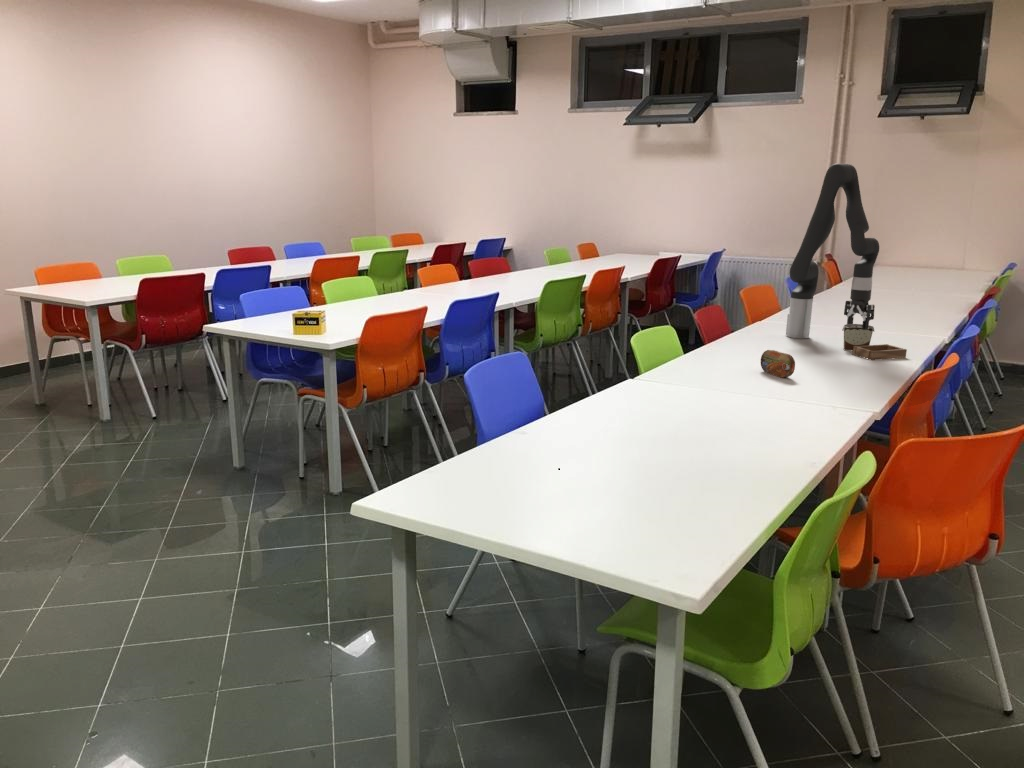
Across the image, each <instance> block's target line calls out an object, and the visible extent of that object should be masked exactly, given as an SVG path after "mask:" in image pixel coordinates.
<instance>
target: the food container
mask: <svg viewBox="0 0 1024 768" xmlns="http://www.w3.org/2000/svg"><path fill="white" fill-rule="evenodd" d="M862 325H863V323H853V324H847V323H846V324H844V325H843V326H842V329H841V330H842V331H843V350H844V349H845V350H844V351H851V350H853V346H868V345H871V340H872V337H873V332H875V327H874V326H873V325H869V327H868V329H867V330H862Z"/></svg>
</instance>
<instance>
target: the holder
mask: <svg viewBox="0 0 1024 768" xmlns="http://www.w3.org/2000/svg"><path fill="white" fill-rule="evenodd" d="M907 352H908V349H906V348H904V347H903V348H902V347H898V346H896V345H891V344H889V343H888V344H887V343H885V344H883V343H882V344H873V345H872V344H870V345H868V346H853V351H852V354H855V355H858V356H857V357H859V356H861V357H860V358H862V357H865V358H864V359H866V358H868V359H867V360H869V359H871V360H870V361H876V360H875V359H882V360H890V359H891V360H892V358H895V359H906V357H907ZM855 355H854V356H855Z"/></svg>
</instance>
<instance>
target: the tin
mask: <svg viewBox="0 0 1024 768" xmlns="http://www.w3.org/2000/svg"><path fill="white" fill-rule="evenodd" d="M760 357H761V358H760V367H761V369H762V371H763V372H764V373H766V374H768V375H772V376H776V377H778V378H788V377H791V376H792V375H793V374H794V372H795V368H796V361H795V359H794V357H793V355H791V354H790V353H785V352H782V351H778V350H774V349H767V350H765V351H763V352H762V354H761V356H760Z"/></svg>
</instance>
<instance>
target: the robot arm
mask: <svg viewBox="0 0 1024 768" xmlns="http://www.w3.org/2000/svg"><path fill="white" fill-rule="evenodd" d="M841 188H842V189H843V192H844V193H845V197H846V209H845V219H846V223H847V225H848V228H849V231H850V248H851V251H852V253H853V254H854V255H856V256H857V257H861V259H860V260H859V261H857V262H856V263H855V264H854V266H853V274H852V276H853V277H852V280H851V287H850V298H849V299H850V300H846V301H845V305H844V311H843V315H844V316H846V318H847V320H846V321H847V322H846V324H854V318H855V315H856V314H858V315H860V316H861V318H862V324H863V325H862V330H867V329H868V327H869V324H870V321H872V320H874V319H875V308H876V307H875V306H876V305H875V304H869V301H871V298H872V297H871V296H872V288H873V273H874V266H875V265H876V261H877V258H878V256H879V253H880V244H879V243H880V242H879V241H878V239H876V238H875V237H865V234H866V233H867V232H869V230H870V225H869V222H868V220H867V215H866V213H865V210H864V206H863V203H862V195H861V189H860V182H859V176H858V171H857V169H856V167H855V166H854V165H852V164H848V163H833V164H832V165H830V166H829V167H828V169H827V170H826V173H825V175H824V179H823V181H822V186H821V188H820V189H821V190H820V194H819V196H818V199H817V202H816V204H815V208H814V211H813V213H812V215H811V218H810V221H809V223H808V225H807V229H806V231H805V235H804V237H803V239H802V242H801V244H800V246H799V249H798V250H797V251H798V252H797V253H796V255H795V257H794V259H793V261H792V263H791V266H790V267H789V268H790V269H789V278H790V279H791V281H793V283H797V285H796V287H795V288H794V289H792V291H791V292H790V301H789V313H788V314H787V319H786V330H785V336H786V337H788V338H792V339H809V338H810V332H811V323H812V313H813V303H814V295H815V293H816V291H817V286H818V279H819V266H818V264H817V263H816V262H815V261H813V258H814V256H815V255H816V253H817V252H818V250H819V249H820V248H821V246H823V244H824V243H825V241H827V239H828V238H829V236H830V234H831V232H832V229H833V227H834V224H835V221H836V220H835V219H836V210H835V201H836V196H837V194H838V192H839V189H841Z"/></svg>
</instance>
